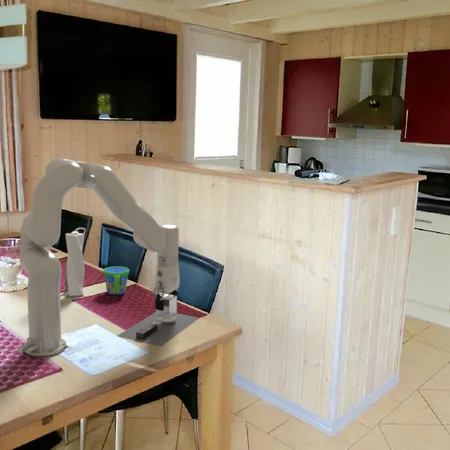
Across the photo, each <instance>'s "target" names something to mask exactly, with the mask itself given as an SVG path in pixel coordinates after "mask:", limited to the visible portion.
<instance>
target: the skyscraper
mask: <svg viewBox="0 0 450 450" xmlns="http://www.w3.org/2000/svg"><path fill="white" fill-rule="evenodd" d="M78 230H84V231H83V233H82V232H81V233H79V231H78ZM86 231H87V229H86V228H85V227H78V228H76V229H75V230H73V231H72V232H70V233H69V232H67V233H65V241H66V248H67V249H66V250H67V256H66V257H67V258H66V263H65V264H66V265H65V273H64V278H65V279H64V296H65V298H76V297H84V292H83V290H84V281H85V260H84V255H83V247H84V241H85V233H86Z"/></svg>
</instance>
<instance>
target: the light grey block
mask: <svg viewBox="0 0 450 450" xmlns="http://www.w3.org/2000/svg"><path fill="white" fill-rule="evenodd" d="M160 296H161V294H160ZM163 300H164V310H163V311H160V310H156V309H155V312H156V316H157V317H162V318H166V319H170V318H172V317H173V316H175V315H176V314H177V313H178V311H177V309H178V303H177V302H178V295H177V296H175V295H170V294H166V293H165V295H164V298H163Z"/></svg>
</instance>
